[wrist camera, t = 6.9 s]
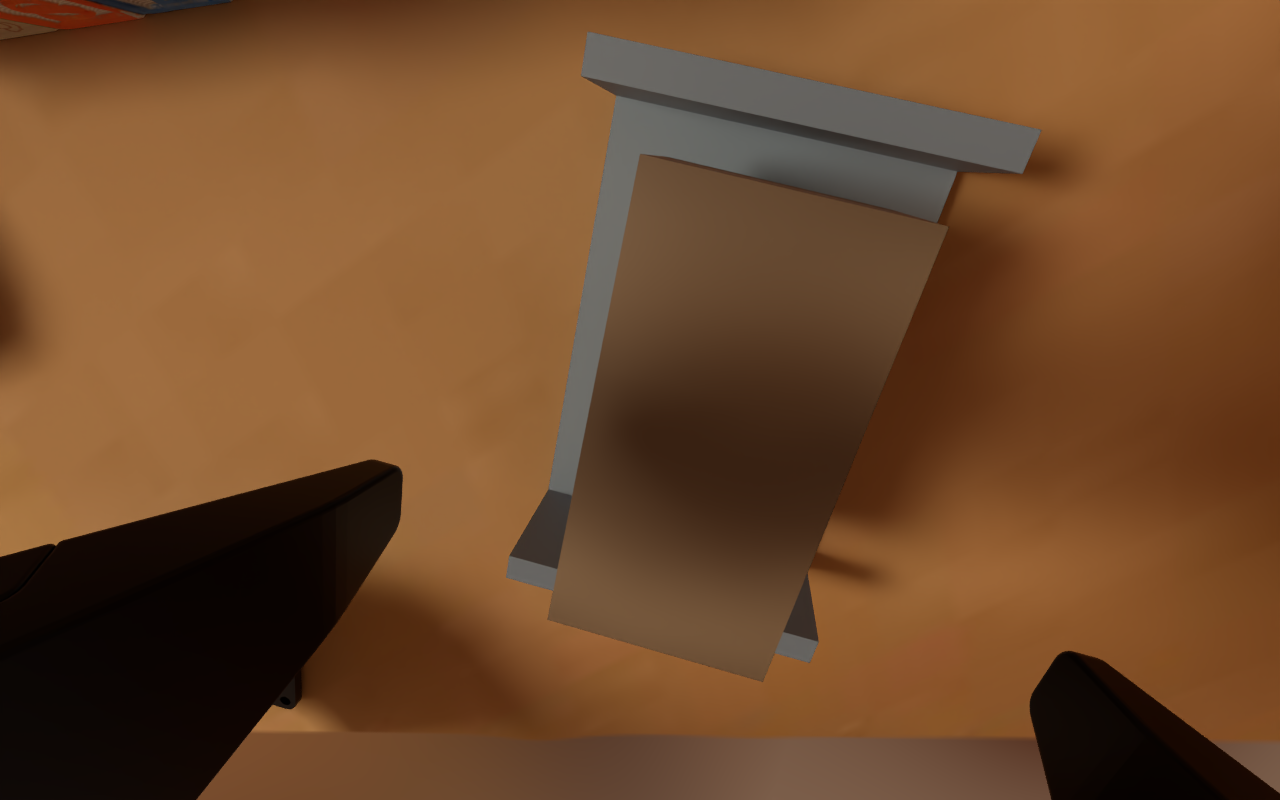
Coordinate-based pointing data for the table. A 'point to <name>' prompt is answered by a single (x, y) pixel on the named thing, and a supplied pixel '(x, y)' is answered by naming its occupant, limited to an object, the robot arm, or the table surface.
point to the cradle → (758, 147)
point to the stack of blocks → (80, 13)
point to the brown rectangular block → (729, 405)
